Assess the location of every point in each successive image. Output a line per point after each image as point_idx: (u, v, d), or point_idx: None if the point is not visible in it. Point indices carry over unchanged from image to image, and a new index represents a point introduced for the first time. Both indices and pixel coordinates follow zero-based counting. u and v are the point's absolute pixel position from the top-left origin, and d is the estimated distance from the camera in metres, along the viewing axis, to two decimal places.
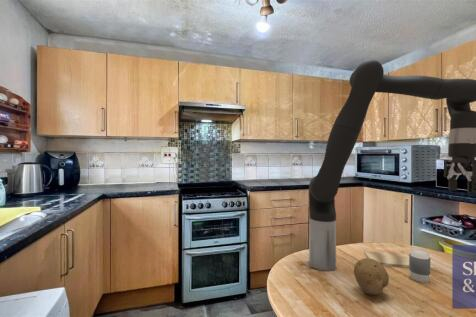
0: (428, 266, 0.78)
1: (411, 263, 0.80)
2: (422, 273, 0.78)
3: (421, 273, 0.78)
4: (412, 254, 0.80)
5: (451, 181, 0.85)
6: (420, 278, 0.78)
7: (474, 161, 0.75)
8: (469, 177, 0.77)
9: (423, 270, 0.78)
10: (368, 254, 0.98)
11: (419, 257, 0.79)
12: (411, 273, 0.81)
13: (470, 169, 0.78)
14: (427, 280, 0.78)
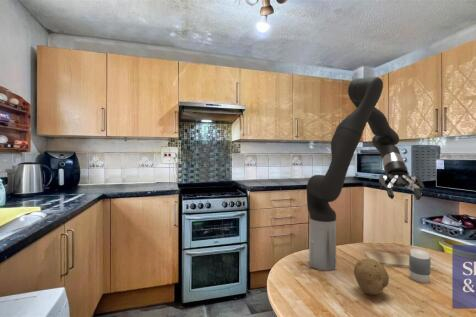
0: (428, 266, 0.78)
1: (411, 263, 0.80)
2: (422, 273, 0.78)
3: (421, 273, 0.78)
4: (412, 254, 0.80)
5: None
6: (420, 278, 0.78)
7: (418, 176, 0.96)
8: (417, 186, 0.93)
9: (423, 270, 0.78)
10: (368, 254, 0.98)
11: (419, 257, 0.79)
12: (411, 273, 0.81)
13: None
14: (427, 280, 0.78)
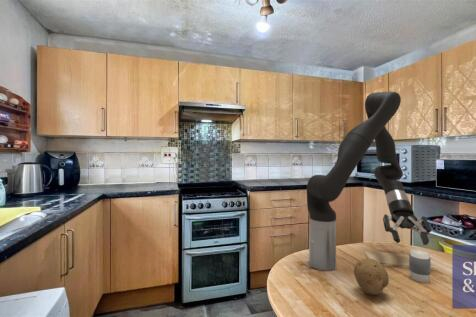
0: (428, 266, 0.78)
1: (411, 263, 0.80)
2: (422, 273, 0.78)
3: (421, 273, 0.78)
4: (412, 254, 0.80)
5: None
6: (420, 278, 0.78)
7: (424, 217, 0.90)
8: (423, 229, 0.87)
9: (423, 270, 0.78)
10: (368, 254, 0.98)
11: (419, 257, 0.79)
12: (411, 273, 0.81)
13: (414, 224, 0.90)
14: (427, 280, 0.78)
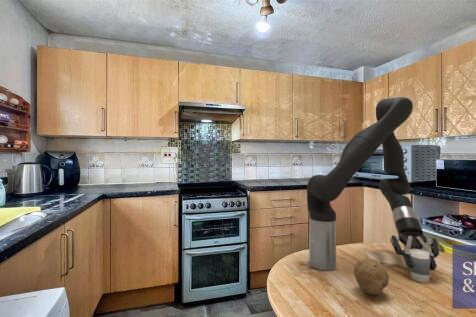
0: (428, 266, 0.78)
1: None
2: (422, 273, 0.78)
3: (421, 273, 0.78)
4: (412, 254, 0.80)
5: None
6: (420, 278, 0.78)
7: (435, 239, 0.83)
8: (431, 253, 0.80)
9: (423, 270, 0.78)
10: (368, 254, 0.98)
11: (419, 257, 0.79)
12: (411, 273, 0.81)
13: None
14: (427, 280, 0.78)
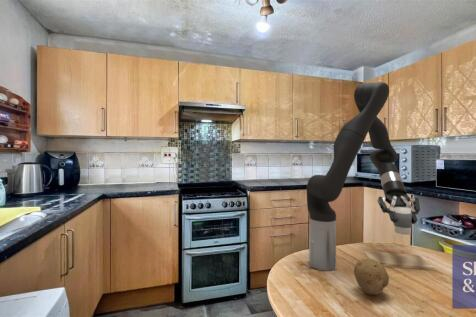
0: (409, 220, 0.88)
1: None
2: (404, 226, 0.88)
3: (403, 226, 0.88)
4: (396, 210, 0.90)
5: None
6: (402, 231, 0.88)
7: (417, 198, 0.93)
8: (413, 209, 0.90)
9: (405, 223, 0.88)
10: (368, 254, 0.98)
11: (401, 212, 0.88)
12: (395, 227, 0.91)
13: None
14: (409, 232, 0.88)
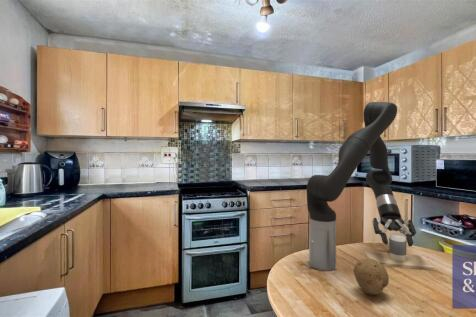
0: (404, 247, 0.91)
1: (390, 245, 0.93)
2: (399, 253, 0.91)
3: (398, 253, 0.91)
4: (391, 238, 0.93)
5: None
6: (397, 258, 0.92)
7: (411, 220, 0.97)
8: (409, 231, 0.94)
9: (400, 251, 0.91)
10: (368, 254, 0.98)
11: (397, 240, 0.92)
12: (390, 254, 0.94)
13: None
14: (403, 260, 0.91)
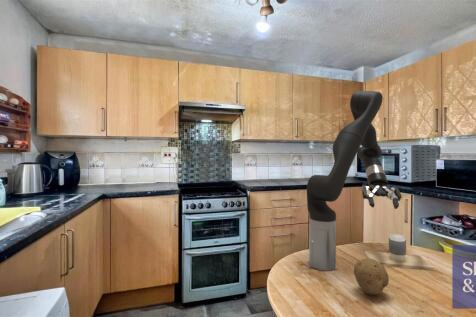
0: (404, 247, 0.91)
1: (390, 245, 0.94)
2: (399, 253, 0.91)
3: (398, 253, 0.91)
4: (391, 238, 0.94)
5: None
6: (397, 258, 0.92)
7: (397, 187, 1.04)
8: (395, 196, 1.01)
9: (399, 251, 0.91)
10: (368, 254, 0.98)
11: (396, 240, 0.92)
12: (390, 254, 0.94)
13: (387, 193, 1.04)
14: (403, 259, 0.91)
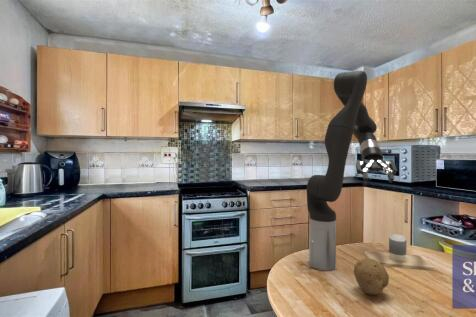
0: (404, 247, 0.91)
1: (390, 245, 0.94)
2: (399, 253, 0.91)
3: (398, 253, 0.91)
4: (391, 237, 0.94)
5: None
6: (397, 258, 0.92)
7: (392, 160, 1.00)
8: (390, 169, 0.97)
9: (400, 251, 0.91)
10: (368, 254, 0.98)
11: (396, 240, 0.92)
12: (390, 254, 0.94)
13: (382, 167, 1.00)
14: (403, 259, 0.91)
